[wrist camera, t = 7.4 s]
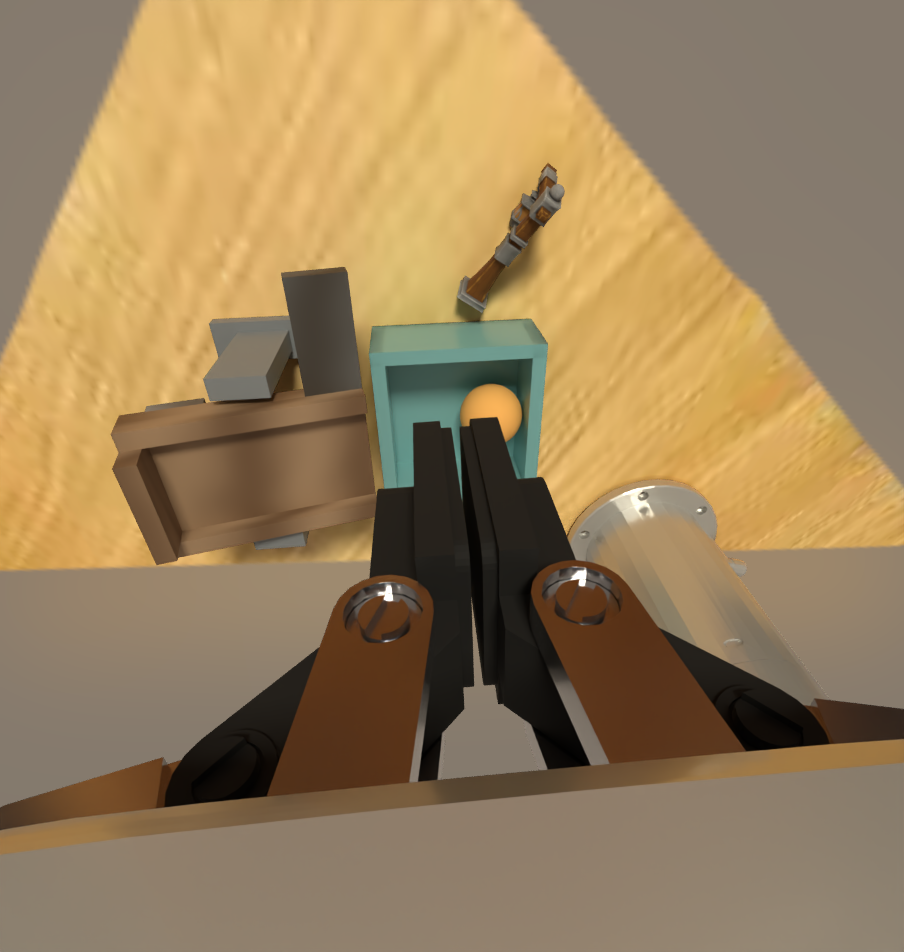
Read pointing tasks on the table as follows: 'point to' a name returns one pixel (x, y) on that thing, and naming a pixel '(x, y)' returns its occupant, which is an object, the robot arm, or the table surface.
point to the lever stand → (252, 373)
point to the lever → (258, 444)
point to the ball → (493, 407)
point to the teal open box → (453, 385)
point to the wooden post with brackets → (515, 237)
